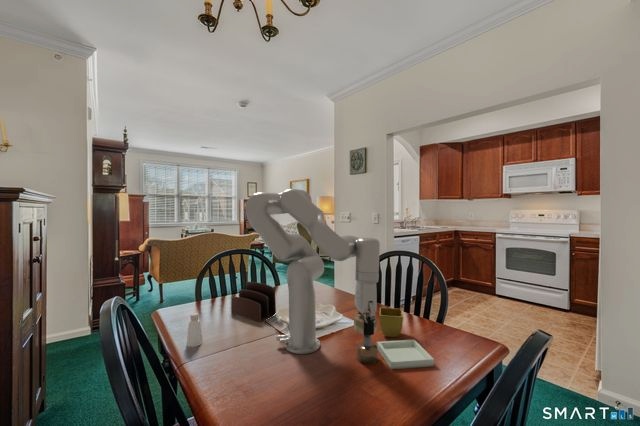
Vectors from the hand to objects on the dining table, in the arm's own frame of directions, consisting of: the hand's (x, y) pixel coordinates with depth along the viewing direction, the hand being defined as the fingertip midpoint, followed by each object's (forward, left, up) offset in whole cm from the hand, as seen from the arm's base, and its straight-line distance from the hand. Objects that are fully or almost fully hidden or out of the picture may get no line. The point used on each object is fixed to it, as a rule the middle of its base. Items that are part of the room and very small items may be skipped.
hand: (365, 329), depth 98 cm
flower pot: (+15, +17, -10) cm, 25 cm away
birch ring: (0, 0, 0) cm, 0 cm away
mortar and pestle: (+1, 0, -10) cm, 10 cm away
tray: (+13, 0, -10) cm, 16 cm away
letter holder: (-40, +46, -10) cm, 62 cm away
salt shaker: (-59, +19, -10) cm, 63 cm away
